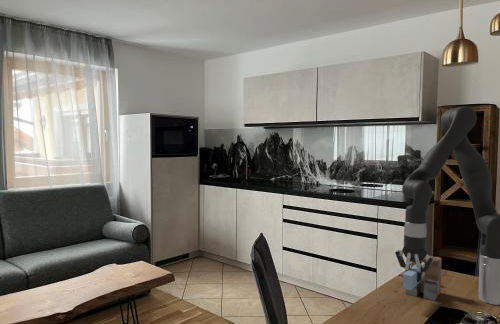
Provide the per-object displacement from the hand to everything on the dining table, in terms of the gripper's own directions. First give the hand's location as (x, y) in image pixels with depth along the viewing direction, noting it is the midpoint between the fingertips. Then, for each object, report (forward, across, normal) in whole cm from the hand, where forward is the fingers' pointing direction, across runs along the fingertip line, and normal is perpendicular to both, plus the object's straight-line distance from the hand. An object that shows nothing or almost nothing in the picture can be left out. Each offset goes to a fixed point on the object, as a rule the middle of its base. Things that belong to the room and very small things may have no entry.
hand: (413, 280), depth 142 cm
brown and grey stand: (+9, 0, -13) cm, 16 cm away
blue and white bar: (+1, 0, -2) cm, 2 cm away
